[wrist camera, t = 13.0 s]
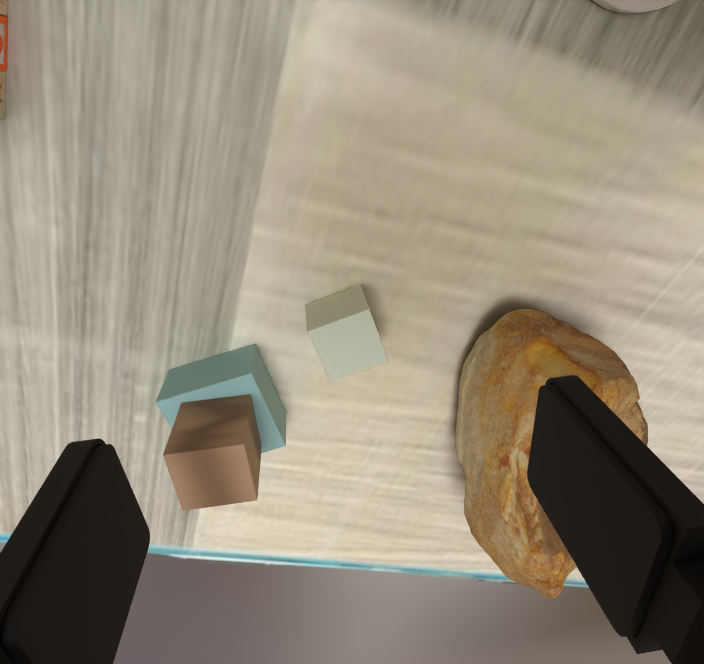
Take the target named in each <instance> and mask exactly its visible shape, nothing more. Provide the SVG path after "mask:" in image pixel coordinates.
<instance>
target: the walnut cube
mask: <svg viewBox="0 0 704 664" xmlns="http://www.w3.org/2000/svg"><path fill="white" fill-rule="evenodd" d="M261 447H262V445H261V440H260V436H259V431H258V426H257V422H256V417H255V412H254V408H253V403H252V398H251V394H246V395H238V396H230V397H222V398H214V399H206V400H198V401H190V402H182V403H181V405H180V408H179V411H178V414H177V416H176V419H175V422H174V425H173V428H172V431H171V434H170V437H169V440H168V442H167V445H166V448H165V451H164V454H163V456H164V459H165V462H166V465H167V467H168V470H169V473H170V476H171V479H172V482H173V484H174V487H175V490H176V493H177V496H178V499H179V502H180V504H181V507H182V510H183V511H184V510H191V509H198V508H206V507H213V506H220V505H227V504H234V503H241V502H248V501H255V500H257V497H258V484H259V472H260V460H261Z"/></svg>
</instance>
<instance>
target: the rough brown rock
mask: <svg viewBox="0 0 704 664" xmlns="http://www.w3.org/2000/svg"><path fill="white" fill-rule="evenodd" d="M568 375H577V376H578V377H579V378H580V379H581V380H582V381H583V382H584V383H585V384H586V385H587V386H588V387H589V388H590V389H591V390H592V391H593V392H594V393H595V394H596V395H597V396H598V397H599V398H600V399H601V400H602V401H603V402H604V403H605V404H606V405H607V406H608V407H609V408H610V409H611V410H612V411H613V412H614V413H615V414H616V415H617V416H618V417H619V418H620V419H621V420H622V421H623V422H624V423H625V424H626V426H627V427H628V428H629V429H630V430H631V431H632V432H633V433H634V434H635V435H636V436H637V437H638V438H639V439H640V440H641V441H642V442H643V443H644V444H645V445H646V446H647V443H648V426H647V422H646V420H645V418H644V417H643V414H642V410H641V408H640V406H639V404H638V402H637V401H638V400H639V399H640V397H639V392H638V387H637V384H636V382H635V380H634V378H633V376H632V375H631V374H630V372H629V370H628V369H627V367H626V365H625V364H624V362H623V361H622V360H621V359H620V358H619V357H618V355H617V354H616V353H615V352H614V351H613V350H611V349H610V348H609V347H607V346H606V345H604V344H603V343H601V342H600V341H598V340H597V339H595V338H593V337H592V336H590V335H588V334H586V333H582V332H580V331H579V330H577V329H576V328H574V327H572V326H570V325H568V324H566V323H565V322H563V321H560V320H557V319H555V318H553V317H551V316H550V315H548V314H546V313H544V312H541V311H538V310H533V309H518V310H514V311H510V312H509V313H507V314H505V315H504V316H502V317H501V318H500V319H499V320H498V321H497V322H496V323H495V324H494V325H493V326H492V327H491V328H490V329H488V330H487V331H486V332H484V333H483V334H482V335H481V336H480V337H479V338H478V339H477V340H476V342H475V344H474V346H473V348H472V350H471V351H470V353H469V355H468V357H467V358H466V360H465V362H464V364H463V367H462V373H461V378H460V382H459V403H458V411H457V425H456V434H455V446H456V451H457V455H458V458H459V460H460V463H461V464H462V465H463V467H464V472H465V475H466V487H465V500H464V514H465V517H466V519H467V522H468V525H469V527H470V530H471V533H472V535H473V536H474V538H475V539H476V541H477V542H478V543H479V545H480V546H481V547H482V548H483V549H484V551H485V552H486V553H487V554H488V555H489V556H490V557H491V558H492V560H493V561H494V562H495V563H496V565H497V566H498V567H499V568H500V569H501V571H502V572H503V573H504V574H505V576H507V577H508V578H510V579H511V580H513V581H515V582H517V583H519V584H521V585H523V586H528V587H531V588H533V589H535V590H537V591H538V592H539V593H540V594H541V595H542V596H543V597H547V598H553V599H554V598H555V597H557V596H558V595H559V594H560V593H561V592H562V589H563V584H564V582H565V580H566V578H567V576H568V575H569V574H570V573H571V572H572V571H573V570H574V569H575V568H576V564H575V563H574V561H573V559H572V557H571V556H570V554H569V552H568V551H567V549H566V547H565V546H564V544H563V542H562V541H561V539H560V537H559V535H558V534H557V532H556V530H555V529H554V527H553V525H552V524H551V522H550V520H549V519H548V517H547V515H546V514H545V512H544V510H543V508H542V507H541V505H540V503H539V502H538V500H537V498H536V497H535V495H534V493H533V492H532V490H531V488H530V486H529V483H528V479H527V468H528V461H529V454H530V447H531V441H532V434H533V427H534V420H535V413H536V406H537V399H538V392H539V388H540V387H541V386H543V385H545V384H546V381H547V380H548V379H549V378H553V377H560V376H568Z"/></svg>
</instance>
